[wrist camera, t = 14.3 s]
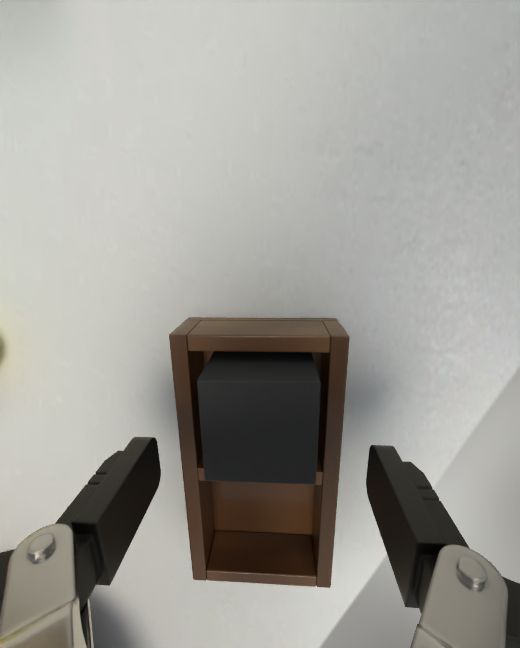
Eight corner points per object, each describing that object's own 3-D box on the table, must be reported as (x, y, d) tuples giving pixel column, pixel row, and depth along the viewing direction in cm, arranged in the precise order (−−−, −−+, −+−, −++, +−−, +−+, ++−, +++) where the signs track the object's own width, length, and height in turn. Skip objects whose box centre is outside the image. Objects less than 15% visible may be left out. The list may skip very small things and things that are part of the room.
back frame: (336, 318, 15) (349, 336, 13) (322, 537, 20) (330, 588, 17) (188, 317, 16) (168, 334, 13) (205, 531, 20) (193, 580, 17)
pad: (310, 346, 15) (321, 382, 12) (307, 429, 17) (316, 485, 13) (216, 346, 16) (196, 380, 12) (220, 427, 17) (204, 481, 13)
